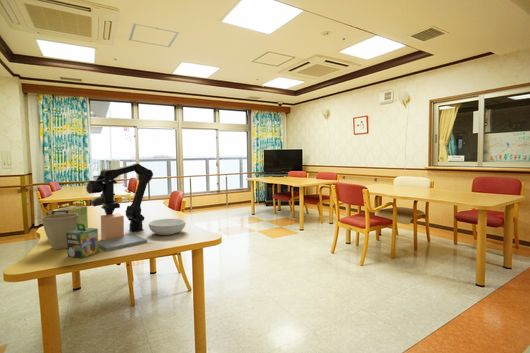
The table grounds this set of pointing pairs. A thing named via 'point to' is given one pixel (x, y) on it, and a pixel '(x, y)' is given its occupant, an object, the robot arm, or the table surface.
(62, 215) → the plant pot
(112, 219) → the terracotta carton
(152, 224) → the serving bowl
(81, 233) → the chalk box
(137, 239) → the board
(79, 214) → the protein box
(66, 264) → the table surface
